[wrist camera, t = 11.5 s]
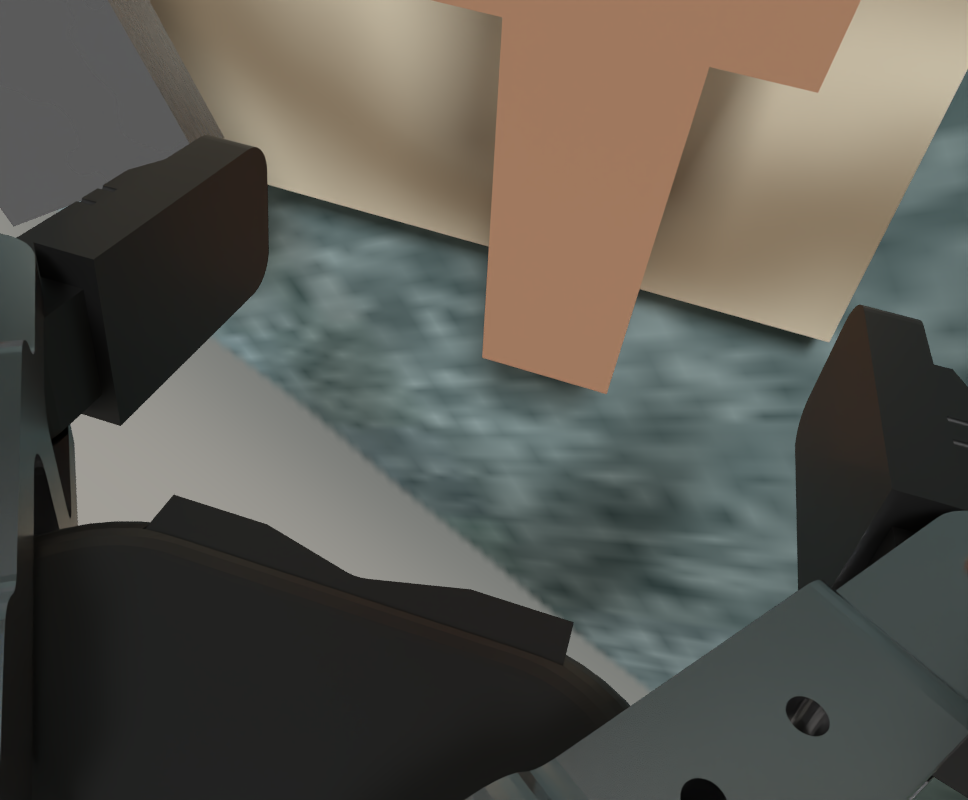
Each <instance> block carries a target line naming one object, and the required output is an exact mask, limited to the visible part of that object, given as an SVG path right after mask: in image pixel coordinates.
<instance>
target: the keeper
mask: <svg viewBox="0 0 968 800" xmlns="http://www.w3.org/2000/svg"><path fill="white" fill-rule="evenodd" d="M203 135H211V136H215V137H219V138H224V136H223V134H222V132H221V130H220V129H219V127H218V125H217V123H216V121H215V119H214V118H213V116H212V114H211V112H210V110H209V109H208V107H207V105H206V103H205V101H204V99H203V98H202V96H201V94H200V92H199V90H198V88H197V87H196V85H195V83H194V81H193V79H192V78H191V76H190V74H189V72H188V70H187V68H186V67H185V65H184V63H183V61H182V59H181V57H180V56H179V54H178V52H177V50H176V48H175V47H174V45H173V43H172V41H171V39H170V37H169V36H168V34H167V32H166V30H165V28H164V26H163V25H162V23H161V21H160V19H159V17H158V16H157V14H156V12H155V10H154V8H153V6H152V5H151V3H150V1H149V0H0V208H1V210H2V211H3V212H4V214H5V215H6V216H7V218H8V219H9V221H10V222H11V224H12V225H13V226H16V225H19V224H21V223H24V222H27V221H29V220H32V219H34V218H37V217H39V216H42V215H45V214H48V213H50V212H53V211H55V210H58V209H61V208H63V207H66V206H69V205H71V204H73V203H74V202H76V201H78V202H79V201H82V197H84V196H86V195H87V194H89V193H91V192H92V191H94V190H96V189H97V188H99V189H102V188H103V185H104V184H105V183H107V182H109V181H110V180H112V179H114V178H115V177H117V176H118V175H120V174H122V173H123V172H125V171H127V170H128V169H132V168H136V167H139V166H143V165H146V164H150V163H153V162H157V161H161V160H165V159H166V158H168V157H169V156H171V155H172V154H174V153H176V152H177V151H179V150H180V149H182V148H184V147H185V146H187V145H188V144H190V143H191V142H193V141H195V140H196V139H198V138H199V137H201V136H203Z"/></svg>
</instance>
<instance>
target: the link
mask: <svg viewBox="0 0 968 800" xmlns="http://www.w3.org/2000/svg"><path fill="white" fill-rule="evenodd" d="M432 1H436V2H440V3H444V4H449V5H453V6H457V7H461V8H465V9H470V10H474V11H478V12H482V13H486V14H490V15H495V16H499V17H502V33H501V50H500V67H499V84H498V101H497V118H496V135H495V151H494V168H493V185H492V202H491V219H490V236H489V253H488V270H487V287H486V304H485V320H484V337H483V354H482V358H485V359H489V360H492V361H495V362H499V363H502V364H506V365H509V366H513V367H516V368H519V369H523V370H526V371H530V372H533V373H536V374H540V375H543V376H547V377H550V378H554V379H557V380H560V381H564V382H567V383H571V384H574V385H577V386H581V387H584V388H588V389H591V390H594V391H598V392H601V393H605V394H607V391H608V388H609V384H610V381H611V378H612V375H613V372H614V369H615V365H616V362H617V359H618V356H619V353H620V350H621V346H622V343H623V340H624V337H625V334H626V330H627V327H628V324H629V321H630V318H631V315H632V311H633V308H634V305H635V302H636V299H637V296H638V292H639V289H640V286H641V283H642V280H643V276H644V273H645V270H646V267H647V264H648V261H649V257H650V254H651V251H652V248H653V245H654V242H655V238H656V235H657V232H658V229H659V226H660V223H661V219H662V216H663V213H664V210H665V207H666V203H667V200H668V197H669V194H670V191H671V188H672V184H673V181H674V178H675V175H676V172H677V169H678V165H679V162H680V159H681V156H682V153H683V150H684V146H685V143H686V140H687V137H688V134H689V130H690V127H691V124H692V121H693V118H694V115H695V111H696V108H697V105H698V102H699V99H700V96H701V92H702V89H703V86H704V83H705V80H706V76H707V73H708V70H709V67H712V68H716V69H720V70H724V71H729V72H733V73H737V74H741V75H745V76H749V77H754V78H758V79H762V80H766V81H770V82H774V83H779V84H783V85H787V86H791V87H795V88H800V89H804V90H808V91H812V92H816V93H818V92H819V90H820V88H821V86H822V83H823V81H824V79H825V77H826V75H827V73H828V70H829V68H830V66H831V64H832V62H833V60H834V57H835V55H836V53H837V51H838V49H839V47H840V44H841V42H842V40H843V38H844V36H845V34H846V31H847V29H848V27H849V25H850V23H851V21H852V18H853V16H854V14H855V12H856V10H857V8H858V5H859V3H860V1H861V0H432Z"/></svg>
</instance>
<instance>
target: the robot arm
mask: <svg viewBox="0 0 968 800" xmlns="http://www.w3.org/2000/svg"><path fill="white" fill-rule="evenodd" d="M268 254H269V240H268V184H267V163H266V159H265V156H264V154H263V152H262V151H261V149H259V148H257V147H254V146H250V145H246V144H242V143H238V142H234V141H230V140H226V139H223V138H219V137H215V136H211V135H203V136H201V137H199V138H198V139H196V140H195V141H193V142H191V143H190V144H188V145H187V146H185V147H184V148H182V149H180V150H179V151H177V152H176V153H174V154H172V155H171V156H169V157H168V158H166V159H165V160H161V161H157V162H153V163H150V164H146V165H143V166H139V167H136V168H132V169H128V170H127V171H125V172H123V173H122V174H120V175H118V176H117V177H115V178H114V179H112V180H110V181H109V182H107V183H105V184H104V185H103V188H102V189H99V188H97V189H96V190H94V191H92V192H91V193H89V194H87V195H86V196H84V197H82V201H81V202H78V201H76V202H74V203H73V204H71V205H69V206H68V207H66V208H64V209H63V210H61V211H60V212H58V213H56V214H55V215H53V216H51V217H50V218H48V219H46V220H45V221H43V222H42V223H40V224H38V225H37V226H35V227H33V228H32V229H30V230H28V231H27V232H26V233H24V234H22V235H21V236H19V237H17V238H14V237H12V236H8V235H4V234H0V800H913V799H914V798H915V797H916V796H917V795H918V794H919V793H920V791H921V790H922V789H923V788H924V787H925V786H926V785H927V784H928V783H929V782H930V781H931V780H932V779H933V778H934V777H935V778H937V779H938V780H940V781H942V782H943V783H945V784H946V785H948V786H950V787H951V788H953V789H954V790H956V791H958V792H959V793H961V794H962V795H964V796H966V797H967V798H968V387H967V386H966V384H965V383H964V382H963V381H962V380H961V379H960V378H959V376H958V375H957V374H956V373H955V372H954V371H953V369H949V368H945V367H941V366H938V365H934V364H933V360H932V357H931V353H930V349H929V345H928V341H927V337H926V333H925V329H924V326H923V323H922V321H921V320H918V319H914V318H910V317H906V316H902V315H899V314H895V313H891V312H887V311H883V310H879V309H875V308H871V307H868V306H864V305H858V306H856V307H855V308H854V309H853V311H852V312H851V313H850V315H849V317H848V318H847V320H846V322H845V324H844V326H843V328H842V330H841V332H840V334H839V336H838V339H837V341H836V343H835V345H834V347H833V349H832V351H831V353H830V355H829V357H828V359H827V361H826V363H825V365H824V367H823V369H822V372H821V374H820V376H819V378H818V380H817V382H816V384H815V386H814V388H813V390H812V392H811V394H810V396H809V398H808V401H807V403H806V405H805V408H804V410H803V413H802V416H801V419H800V423H799V427H798V431H797V436H796V443H795V462H796V509H797V556H798V591H797V592H795V593H794V594H793V595H791V596H790V597H788V598H787V599H785V600H784V601H782V602H781V603H780V604H778V605H777V606H775V607H774V608H772V609H771V610H769V611H768V612H766V613H765V614H764V615H762V616H761V617H759V618H758V619H756V620H755V621H753V622H752V623H751V624H749V625H748V626H746V627H745V628H743V629H742V630H740V631H739V632H737V633H736V634H735V635H733V636H732V637H730V638H729V639H727V640H726V641H724V642H723V643H721V644H720V645H719V646H717V647H716V648H714V649H713V650H711V651H710V652H708V653H707V654H706V655H704V656H703V657H701V658H700V659H698V660H697V661H695V662H694V663H692V664H691V665H690V666H688V667H687V668H685V669H684V670H682V671H681V672H679V673H678V674H677V675H675V676H674V677H672V678H671V679H669V680H668V681H666V682H665V683H663V684H662V685H661V686H659V687H658V688H656V689H655V690H653V691H652V692H650V693H649V694H648V695H646V696H645V697H643V698H642V699H641V700H639V701H638V702H636V703H634V704H633V705H632V706H630V705H629V704H628V703H627V702H626V700H625V699H623V698H622V697H621V696H620V695H619V694H618V693H617V692H616V691H615V690H614V689H613V688H611V687H610V686H609V685H608V684H607V683H606V682H605V681H604V680H602V679H601V678H600V677H598V676H597V675H595V674H594V673H593V672H592V671H590V670H589V669H587V668H586V667H585V666H583V665H582V664H580V663H578V662H577V661H575V660H574V659H572V658H570V657H568V656H567V655H566V652H567V647H568V643H569V639H570V635H571V631H572V627H573V623H574V622H571V621H568V620H564V619H561V618H558V617H555V616H552V615H549V614H546V613H542V612H539V611H536V610H533V609H530V608H527V607H524V606H520V605H517V604H514V603H511V602H508V601H505V600H502V599H499V598H495V597H492V596H489V595H486V594H483V593H480V592H477V591H474V590H469V589H460V588H451V587H440V586H431V585H421V584H411V583H402V582H392V581H382V580H372V579H365V578H360V577H357V576H353V575H351V574H349V573H347V572H345V571H344V570H342V569H340V568H339V567H337V566H335V565H334V564H332V563H330V562H329V561H327V560H325V559H324V558H322V557H320V556H319V555H317V554H315V553H313V552H312V551H310V550H309V549H307V548H305V547H303V546H302V545H300V544H299V543H297V542H295V541H294V540H292V539H290V538H289V537H287V536H285V535H284V534H282V533H280V532H279V531H277V530H275V529H274V528H272V527H270V526H269V525H267V524H264V523H261V522H257V521H254V520H251V519H248V518H245V517H242V516H239V515H236V514H233V513H229V512H226V511H223V510H220V509H217V508H214V507H211V506H207V505H204V504H201V503H198V502H195V501H192V500H189V499H185V498H182V497H179V496H176V495H173V496H172V497H171V499H170V500H169V501H168V502H167V503H166V505H165V506H164V507H163V508H162V509H161V511H160V512H159V513H158V514H157V515H156V516H155V518H154V519H153V520H152V521H151V522H105V523H93V524H85V525H80V526H78V520H77V519H78V517H77V495H76V472H75V448H74V440H73V435H72V430H71V426H70V424H71V423H72V422H73V421H74V420H75V419H76V418H77V417H78V416H79V415H80V414H84V415H87V416H90V417H94V418H97V419H100V420H103V421H106V422H110V423H113V424H116V425H119V426H121V425H122V424H123V423H124V422H125V421H126V420H127V419H128V418H129V417H130V416H131V415H132V414H133V413H134V412H135V411H136V410H137V409H138V408H139V407H140V406H141V405H142V404H143V403H144V402H145V401H146V400H147V399H148V398H149V397H150V396H151V395H152V394H153V393H154V392H155V391H156V390H157V389H158V388H159V387H160V386H161V385H162V384H163V383H164V382H165V381H166V380H167V379H168V378H169V377H170V376H171V375H172V374H173V373H174V372H175V371H176V370H177V369H178V368H179V367H180V366H181V365H182V364H184V363H185V361H187V359H188V358H190V357H191V356H192V354H194V353H195V352H196V351H197V350H198V348H200V346H202V345H203V344H204V343H205V342H206V341H207V340H208V339H209V338H210V337H211V336H212V335H213V334H214V333H215V332H216V331H217V330H218V329H219V328H220V327H221V326H222V325H223V324H224V323H225V322H226V321H227V320H228V319H229V318H230V317H231V316H232V315H233V314H234V313H235V312H236V311H237V310H238V309H239V308H240V307H241V306H242V305H243V304H244V303H245V302H246V301H247V300H248V299H249V298H250V297H251V296H252V295H253V294H254V293H255V292H256V290H257V289H258V287H259V286H260V284H261V282H262V279H263V277H264V274H265V271H266V267H267V262H268Z"/></svg>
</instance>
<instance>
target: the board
mask: <svg viewBox="0 0 968 800" xmlns="http://www.w3.org/2000/svg"><path fill="white" fill-rule="evenodd" d="M149 1H150V3H151V5H152V6H153V8H154V10H155V12H156V14H157V16H158V17H159V19H160V21H161V23H162V25H163V26H164V28H165V30H166V32H167V34H168V36H169V37H170V39H171V41H172V43H173V45H174V47H175V48H176V50H177V52H178V54H179V56H180V57H181V59H182V61H183V63H184V65H185V67H186V68H187V70H188V72H189V74H190V76H191V78H192V79H193V81H194V83H195V85H196V87H197V88H198V90H199V92H200V94H201V96H202V98H203V99H204V101H205V103H206V105H207V107H208V109H209V110H210V112H211V114H212V116H213V118H214V119H215V121H216V123H217V125H218V127H219V129H220V130H221V132H222V134H223V136H224V138H223V139H226V140H230V141H234V142H238V143H242V144H246V145H250V146H254V147H257V148H259V149H261V151H262V152H263V154H264V156H265V159H266V163H267V184H268V185H271V186H274V187H278V188H282V189H285V190H289V191H292V192H296V193H299V194H303V195H307V196H310V197H314V198H317V199H321V200H324V201H328V202H331V203H335V204H339V205H342V206H346V207H349V208H353V209H356V210H360V211H363V212H367V213H371V214H374V215H378V216H381V217H385V218H388V219H392V220H395V221H399V222H403V223H406V224H410V225H413V226H417V227H420V228H424V229H428V230H431V231H435V232H438V233H442V234H445V235H449V236H452V237H456V238H460V239H463V240H467V241H470V242H474V243H477V244H481V245H484V246H488V247H489V236H490V219H491V202H492V185H493V168H494V151H495V135H496V118H497V101H498V84H499V67H500V50H501V33H502V17H499V16H495V15H490V14H486V13H482V12H478V11H474V10H470V9H465V8H461V7H457V6H453V5H449V4H444V3H440V2H436V1H432V0H149ZM967 69H968V0H861V1H860V3H859V5H858V8H857V10H856V12H855V14H854V16H853V18H852V21H851V23H850V25H849V27H848V29H847V31H846V34H845V36H844V38H843V40H842V42H841V44H840V47H839V49H838V51H837V53H836V55H835V57H834V60H833V62H832V64H831V66H830V68H829V70H828V73H827V75H826V77H825V79H824V81H823V83H822V86H821V88H820V90H819V92H818V93H816V92H812V91H808V90H804V89H800V88H795V87H791V86H787V85H783V84H779V83H774V82H770V81H766V80H762V79H758V78H754V77H749V76H745V75H741V74H737V73H733V72H729V71H724V70H720V69H716V68H712V67H709V70H708V73H707V76H706V80H705V83H704V86H703V89H702V92H701V96H700V99H699V102H698V105H697V108H696V111H695V115H694V118H693V121H692V124H691V127H690V130H689V134H688V137H687V140H686V143H685V146H684V150H683V153H682V156H681V159H680V162H679V165H678V169H677V172H676V175H675V178H674V181H673V184H672V188H671V191H670V194H669V197H668V200H667V203H666V207H665V210H664V213H663V216H662V219H661V223H660V226H659V229H658V232H657V235H656V238H655V242H654V245H653V248H652V251H651V254H650V257H649V261H648V264H647V267H646V270H645V273H644V276H643V280H642V283H641V286H640V289H641V290H645V291H648V292H652V293H655V294H659V295H662V296H666V297H670V298H673V299H677V300H680V301H684V302H687V303H691V304H694V305H698V306H702V307H705V308H709V309H712V310H716V311H719V312H723V313H726V314H730V315H734V316H737V317H741V318H744V319H748V320H751V321H755V322H758V323H762V324H766V325H769V326H773V327H776V328H780V329H783V330H787V331H791V332H794V333H798V334H801V335H805V336H808V337H812V338H815V339H819V340H823V341H826V342H830V340H831V338H832V336H833V334H834V332H835V330H836V328H837V326H838V324H839V322H840V320H841V318H842V316H843V314H844V312H845V310H846V308H847V306H848V304H849V302H850V300H851V298H852V296H853V294H854V292H855V290H856V288H857V286H858V285H859V283H860V281H861V279H862V277H863V275H864V273H865V271H866V269H867V267H868V265H869V263H870V261H871V259H872V257H873V255H874V253H875V251H876V249H877V247H878V245H879V243H880V241H881V239H882V237H883V235H884V233H885V231H886V229H887V227H888V225H889V223H890V221H891V219H892V217H893V215H894V213H895V211H896V209H897V207H898V206H899V204H900V202H901V200H902V198H903V196H904V194H905V192H906V190H907V188H908V186H909V184H910V182H911V180H912V178H913V176H914V174H915V172H916V170H917V168H918V166H919V164H920V162H921V160H922V158H923V156H924V154H925V152H926V150H927V148H928V146H929V144H930V142H931V140H932V138H933V136H934V134H935V132H936V130H937V128H938V127H939V125H940V123H941V121H942V119H943V117H944V115H945V113H946V111H947V109H948V107H949V105H950V103H951V101H952V99H953V97H954V95H955V93H956V91H957V89H958V87H959V85H960V83H961V81H962V79H963V77H964V75H965V73H966V71H967Z"/></svg>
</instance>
